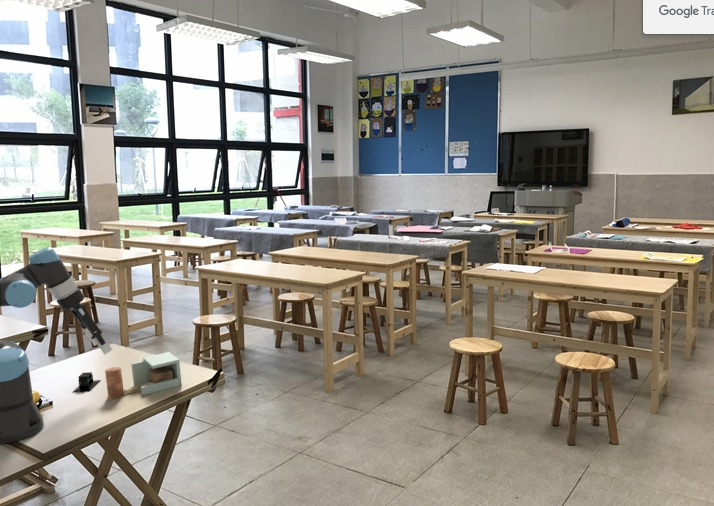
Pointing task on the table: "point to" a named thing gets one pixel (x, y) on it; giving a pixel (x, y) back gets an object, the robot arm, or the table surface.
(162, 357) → the shelf lane
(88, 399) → the table surface
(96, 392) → the table surface
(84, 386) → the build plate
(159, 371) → the towed block
